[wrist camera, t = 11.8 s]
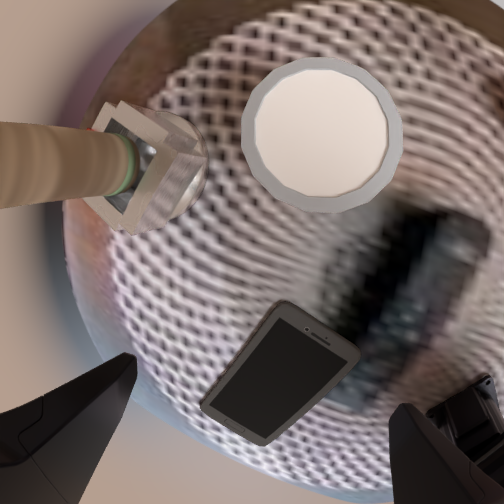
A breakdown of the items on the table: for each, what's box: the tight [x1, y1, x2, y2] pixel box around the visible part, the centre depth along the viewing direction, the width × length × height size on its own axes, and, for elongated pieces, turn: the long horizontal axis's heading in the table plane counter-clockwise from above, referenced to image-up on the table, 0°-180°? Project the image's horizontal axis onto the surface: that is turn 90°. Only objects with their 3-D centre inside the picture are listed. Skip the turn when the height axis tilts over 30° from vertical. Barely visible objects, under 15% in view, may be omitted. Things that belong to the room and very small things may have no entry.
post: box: [0, 122, 140, 209], centre depth 11 cm, size 4×4×12 cm
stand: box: [82, 100, 209, 235], centre depth 18 cm, size 8×8×5 cm
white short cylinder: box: [241, 57, 403, 213], centre depth 14 cm, size 7×7×7 cm
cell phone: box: [200, 301, 361, 446], centre depth 22 cm, size 7×14×1 cm, turn 148°
